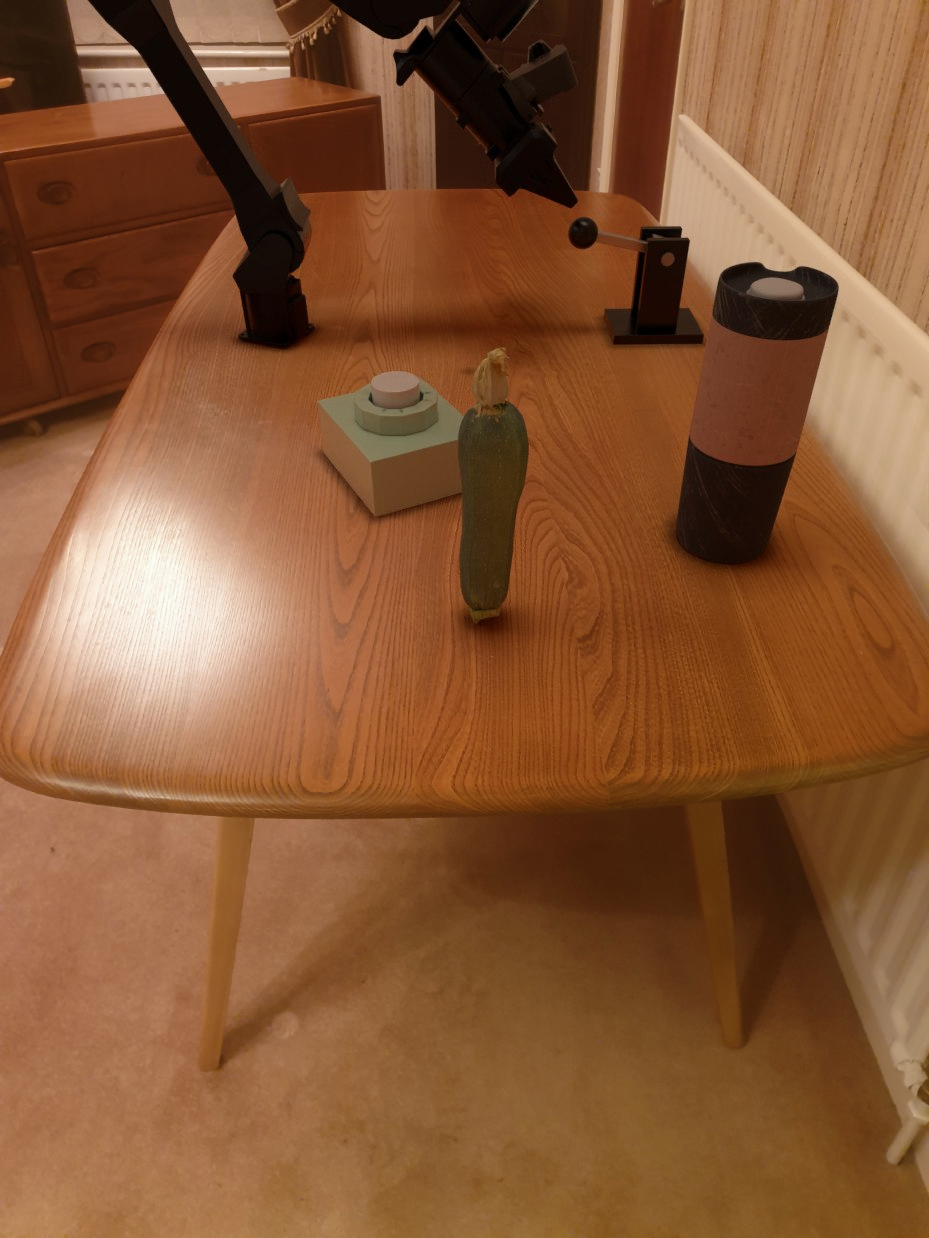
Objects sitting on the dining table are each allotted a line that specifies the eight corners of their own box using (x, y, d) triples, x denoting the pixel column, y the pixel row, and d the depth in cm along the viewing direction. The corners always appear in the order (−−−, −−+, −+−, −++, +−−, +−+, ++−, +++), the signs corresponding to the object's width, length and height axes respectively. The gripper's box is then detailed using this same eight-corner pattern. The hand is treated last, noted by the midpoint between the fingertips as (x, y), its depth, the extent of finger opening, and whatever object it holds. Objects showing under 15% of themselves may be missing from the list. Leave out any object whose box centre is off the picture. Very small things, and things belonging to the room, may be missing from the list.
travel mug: (714, 577, 64) (775, 310, 51) (652, 526, 69) (692, 272, 57) (792, 549, 67) (868, 288, 54) (726, 501, 72) (781, 253, 59)
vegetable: (457, 595, 63) (453, 325, 50) (516, 592, 63) (528, 322, 50) (462, 635, 59) (459, 357, 46) (524, 632, 60) (539, 354, 47)
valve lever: (566, 250, 92) (574, 219, 90) (563, 240, 95) (571, 210, 93) (672, 273, 94) (683, 242, 92) (666, 263, 96) (677, 233, 94)
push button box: (323, 453, 79) (314, 381, 74) (422, 428, 82) (419, 357, 78) (375, 517, 71) (368, 441, 66) (482, 487, 74) (483, 412, 70)
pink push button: (364, 396, 73) (363, 376, 72) (407, 386, 74) (406, 367, 73) (383, 416, 70) (382, 396, 69) (428, 405, 71) (427, 385, 70)
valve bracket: (613, 346, 97) (624, 245, 90) (603, 318, 103) (613, 222, 96) (702, 345, 97) (720, 244, 90) (687, 317, 103) (703, 221, 96)
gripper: (537, 23, 73) (651, 165, 80) (523, 1, 87) (621, 123, 94) (446, 130, 78) (561, 255, 85) (447, 92, 92) (545, 202, 99)
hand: (574, 204), depth 91 cm, fingers closed
